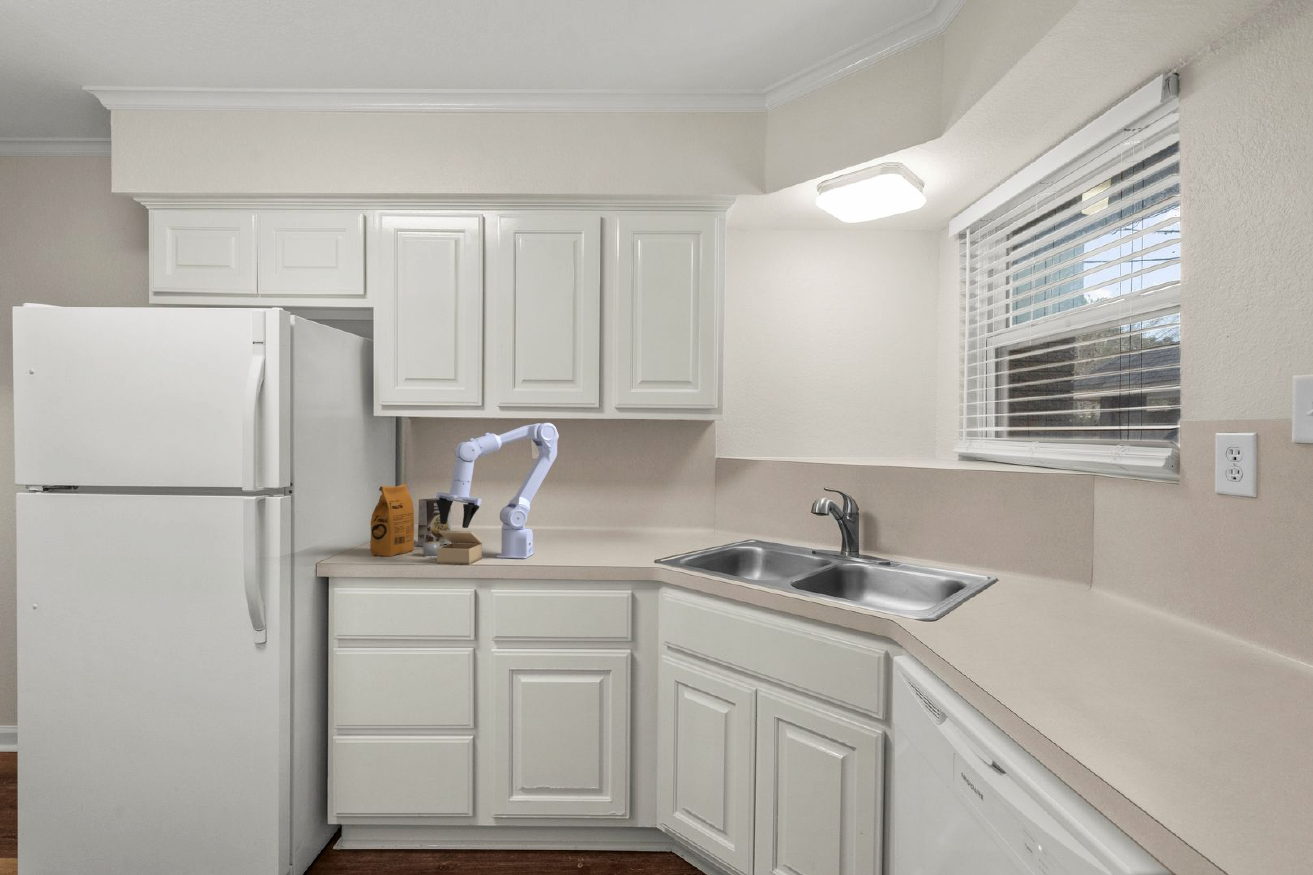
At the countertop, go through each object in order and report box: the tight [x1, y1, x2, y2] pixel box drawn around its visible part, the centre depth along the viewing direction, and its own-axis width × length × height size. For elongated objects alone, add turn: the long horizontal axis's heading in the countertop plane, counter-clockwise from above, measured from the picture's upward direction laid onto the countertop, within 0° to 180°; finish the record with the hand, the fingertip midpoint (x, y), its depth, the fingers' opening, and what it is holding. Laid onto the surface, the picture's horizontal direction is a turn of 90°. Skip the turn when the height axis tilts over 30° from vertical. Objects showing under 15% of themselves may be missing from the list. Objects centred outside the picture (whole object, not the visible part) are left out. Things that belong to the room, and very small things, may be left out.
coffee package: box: [369, 483, 415, 558], centre depth 194 cm, size 10×12×22 cm
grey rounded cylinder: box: [422, 541, 441, 557], centre depth 192 cm, size 5×5×4 cm
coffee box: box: [417, 497, 452, 547], centre depth 209 cm, size 9×6×16 cm
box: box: [436, 542, 483, 566], centre depth 183 cm, size 10×9×4 cm
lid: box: [439, 530, 484, 545], centre depth 184 cm, size 10×9×1 cm
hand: (454, 525), depth 182 cm, fingers open, 7 cm apart
